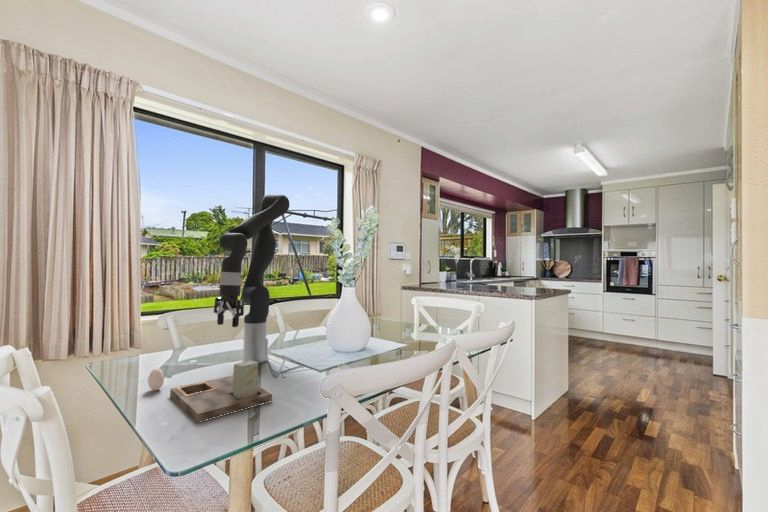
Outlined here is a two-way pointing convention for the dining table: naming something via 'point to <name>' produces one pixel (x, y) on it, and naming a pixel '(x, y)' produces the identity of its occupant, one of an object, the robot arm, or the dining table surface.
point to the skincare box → (245, 379)
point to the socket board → (214, 398)
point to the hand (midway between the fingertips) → (227, 325)
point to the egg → (156, 379)
